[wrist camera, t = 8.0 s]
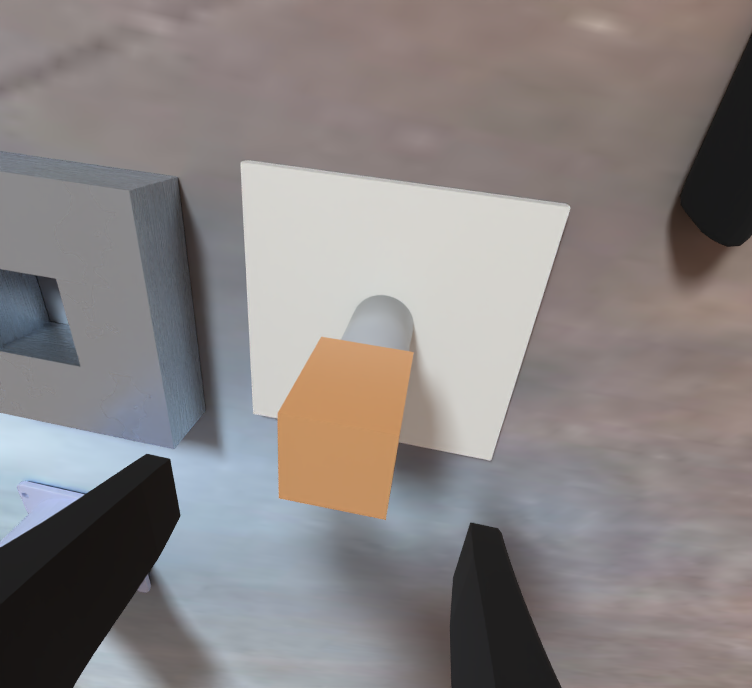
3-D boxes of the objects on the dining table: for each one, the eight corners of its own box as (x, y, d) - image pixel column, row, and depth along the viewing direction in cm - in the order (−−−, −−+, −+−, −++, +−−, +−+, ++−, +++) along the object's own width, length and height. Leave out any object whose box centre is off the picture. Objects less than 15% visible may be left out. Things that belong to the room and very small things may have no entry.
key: (412, 359, 19) (385, 519, 12) (345, 348, 20) (278, 498, 12) (423, 296, 18) (399, 435, 10) (350, 285, 18) (277, 413, 11)
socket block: (205, 410, 24) (174, 449, 21) (5, 371, 25) (-48, 402, 22) (177, 176, 18) (128, 190, 15) (-84, 139, 19) (-170, 146, 16)
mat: (490, 452, 22) (490, 460, 21) (258, 406, 23) (253, 413, 23) (567, 203, 16) (570, 207, 15) (247, 160, 17) (240, 162, 16)
